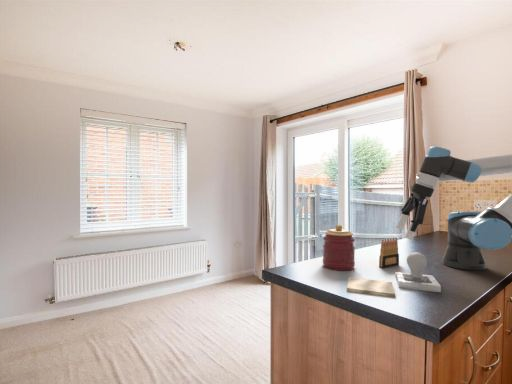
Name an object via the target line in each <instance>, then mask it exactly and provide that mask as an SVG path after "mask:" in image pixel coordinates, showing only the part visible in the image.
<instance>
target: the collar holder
mask: <svg viewBox="0 0 512 384" xmlns="http://www.w3.org/2000/svg"><path fill="white" fill-rule="evenodd" d="M394 273H395V276H394V277H395V281H396V283H397V286H398V288H399V289H407V290H408V289H409V290H418V291H424V292H425V291H426V292H434V293H435V292H436V293H442V292H441V291H442V285H441V284H440V283H439V282H438V280H437V279H436V278H435V277H434V275H432V274H431V275H430V274H422V277H421V282H414V281H412V276H411V272H401V271H395V272H394Z"/></svg>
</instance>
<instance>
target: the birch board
mask: <svg viewBox="0 0 512 384" xmlns="http://www.w3.org/2000/svg"><path fill="white" fill-rule="evenodd" d="M346 292H350V293H351V292H352V293H359V294H360V293H361V294H369V295H375V296H383V297H391V298H396V292H395V289H394V285H393V281H387V280H379V279H377V280H376V279H369V278H368V279H367V278H358V277H350V276H349V277H348V279H347V286H346Z"/></svg>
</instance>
